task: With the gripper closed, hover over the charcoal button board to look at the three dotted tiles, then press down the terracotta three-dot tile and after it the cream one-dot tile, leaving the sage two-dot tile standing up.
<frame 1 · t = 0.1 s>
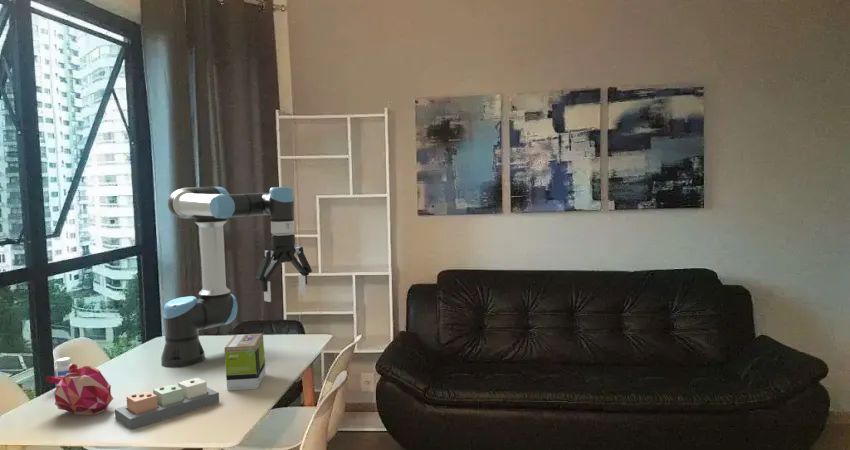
hand: (285, 297, 200), 28 cm above the table, fingers open, 13 cm apart
pill bottle: (65, 388, 199), on the table
button board: (168, 410, 178), on the table
tile two: (168, 395, 178), point 5 cm above the table, slide at 0.0 cm
tea box: (247, 383, 201), on the table
tile three: (141, 402, 172), point 5 cm above the table, slide at 0.0 cm
tile one: (192, 388, 183), point 5 cm above the table, slide at 0.0 cm
sculpture: (82, 411, 179), on the table
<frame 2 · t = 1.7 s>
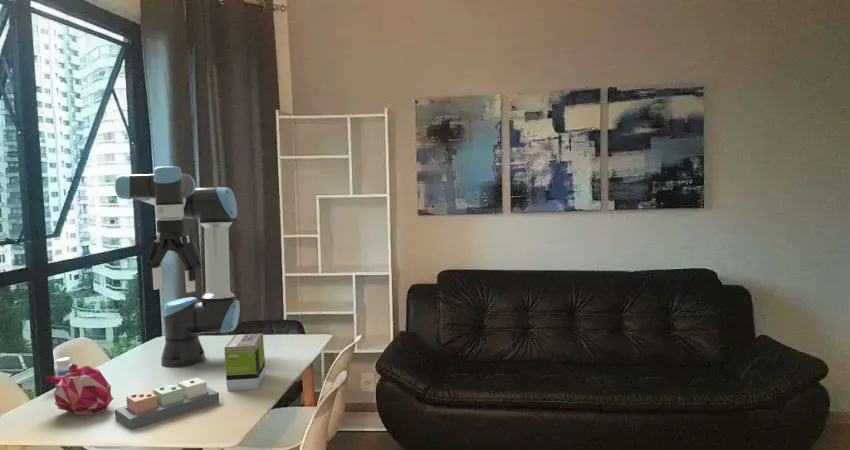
hand: (174, 290, 179), 35 cm above the table, fingers open, 13 cm apart
nothing on the table moved.
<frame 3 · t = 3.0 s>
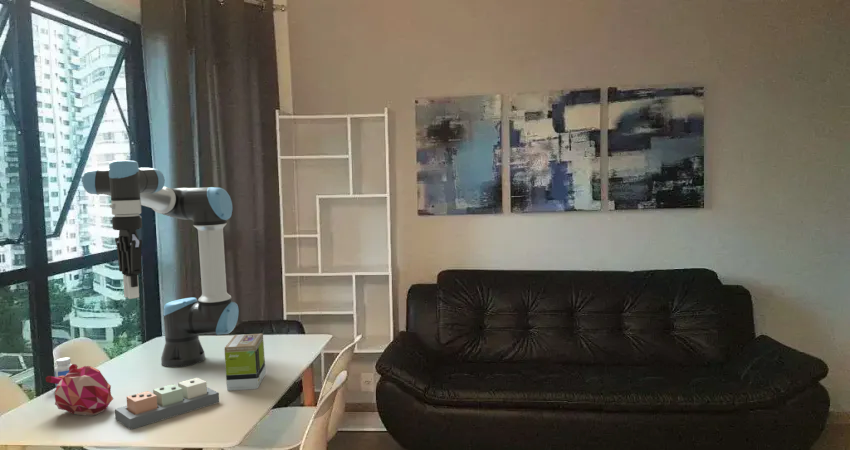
hand: (131, 297, 173), 34 cm above the table, fingers open, 2 cm apart
nothing on the table moved.
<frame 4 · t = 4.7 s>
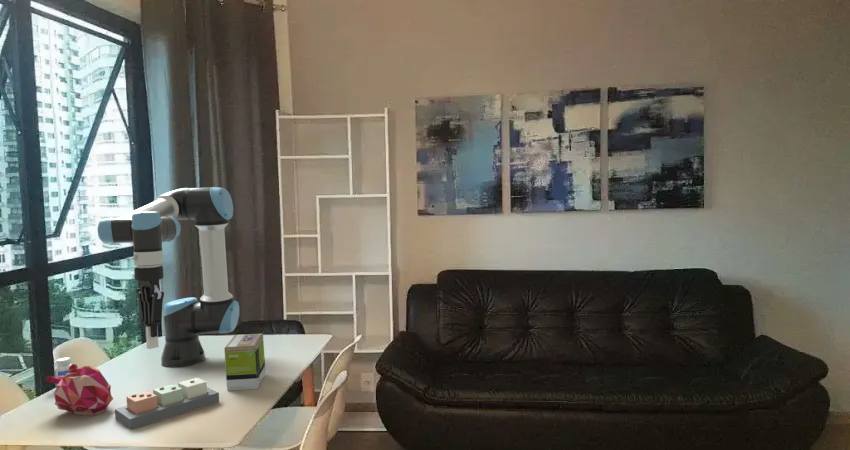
hand: (152, 347, 173), 20 cm above the table, fingers closed
nothing on the table moved.
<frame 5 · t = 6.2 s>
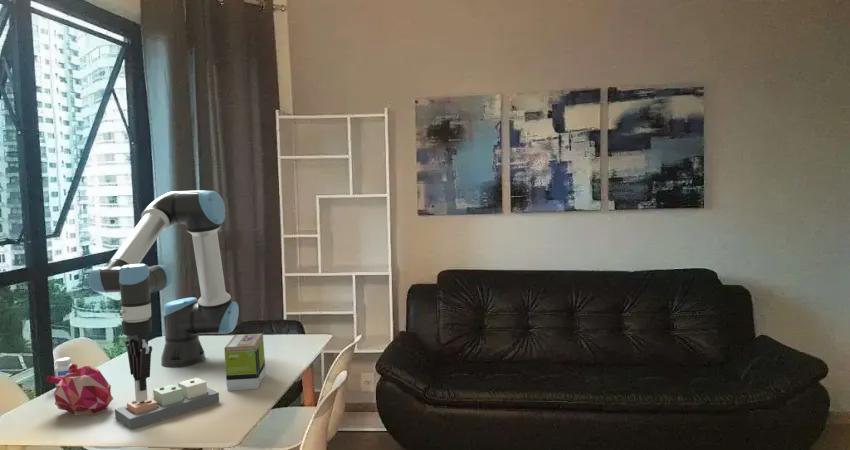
hand: (141, 400, 172), 5 cm above the table, fingers closed
tile three: (142, 408, 172), point 3 cm above the table, slide at 1.9 cm
everything else where it was.
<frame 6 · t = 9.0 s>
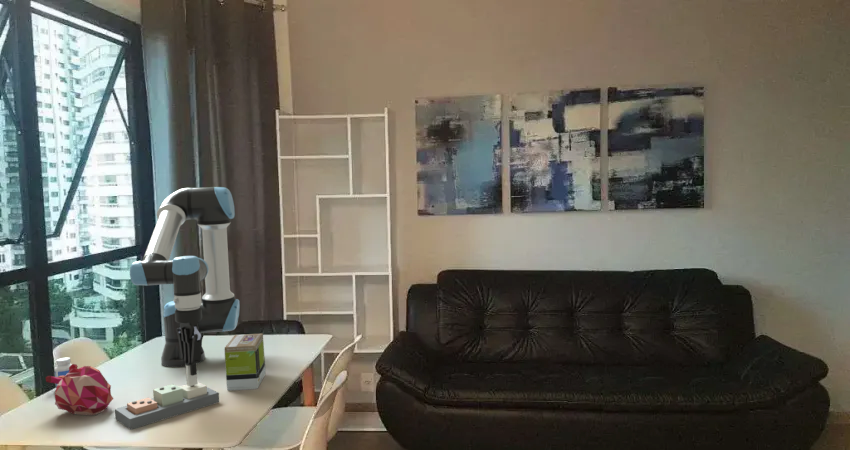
hand: (192, 384, 183), 6 cm above the table, fingers closed
tile one: (192, 392, 183), point 3 cm above the table, slide at 1.3 cm
everything else where it was.
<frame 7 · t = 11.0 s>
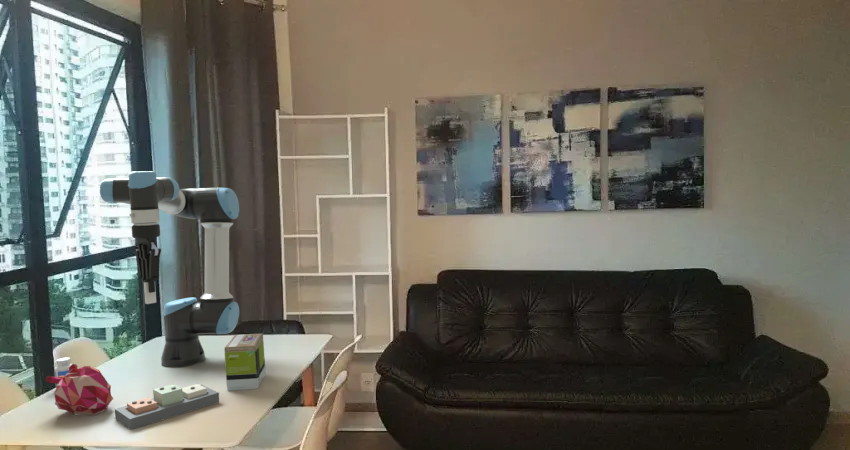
hand: (150, 302, 180), 31 cm above the table, fingers closed
tile one: (192, 394, 183), point 3 cm above the table, slide at 2.0 cm
everything else where it was.
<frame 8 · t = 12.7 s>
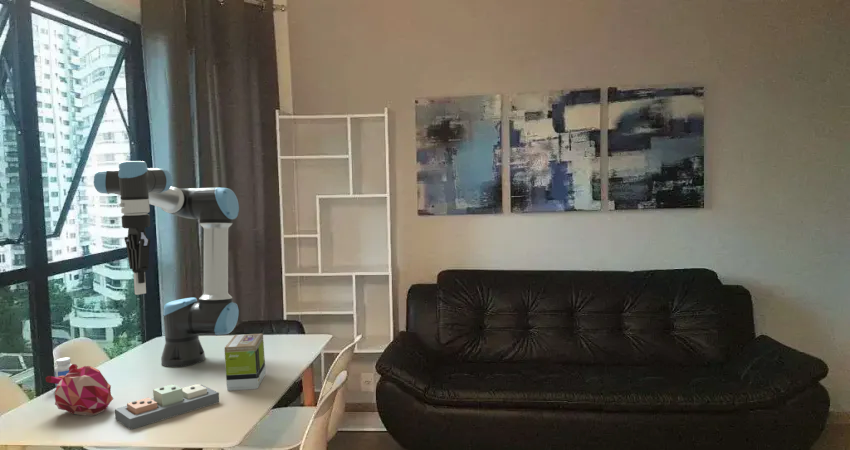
hand: (140, 293, 179), 34 cm above the table, fingers closed
nothing on the table moved.
at the end: tile three slide at 2.0 cm; tile one slide at 2.0 cm; tile two slide at 0.0 cm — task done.
